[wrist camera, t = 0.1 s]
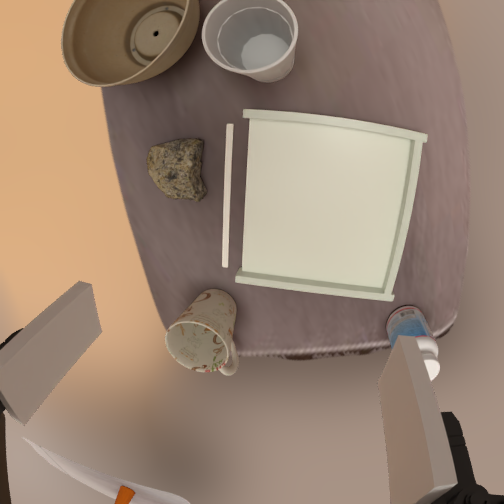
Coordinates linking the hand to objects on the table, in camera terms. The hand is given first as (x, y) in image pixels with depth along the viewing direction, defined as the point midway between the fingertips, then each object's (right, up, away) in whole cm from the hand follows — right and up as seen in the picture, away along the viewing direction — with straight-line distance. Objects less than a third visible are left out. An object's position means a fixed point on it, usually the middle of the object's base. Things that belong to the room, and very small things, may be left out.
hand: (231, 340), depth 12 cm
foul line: (-2, +10, +27) cm, 29 cm away
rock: (-8, +15, +26) cm, 31 cm away
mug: (-3, -6, +34) cm, 35 cm away
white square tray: (+10, +9, +25) cm, 28 cm away
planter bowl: (-11, +32, +20) cm, 39 cm away
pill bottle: (+23, -7, +29) cm, 38 cm away
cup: (+3, +26, +19) cm, 33 cm away
